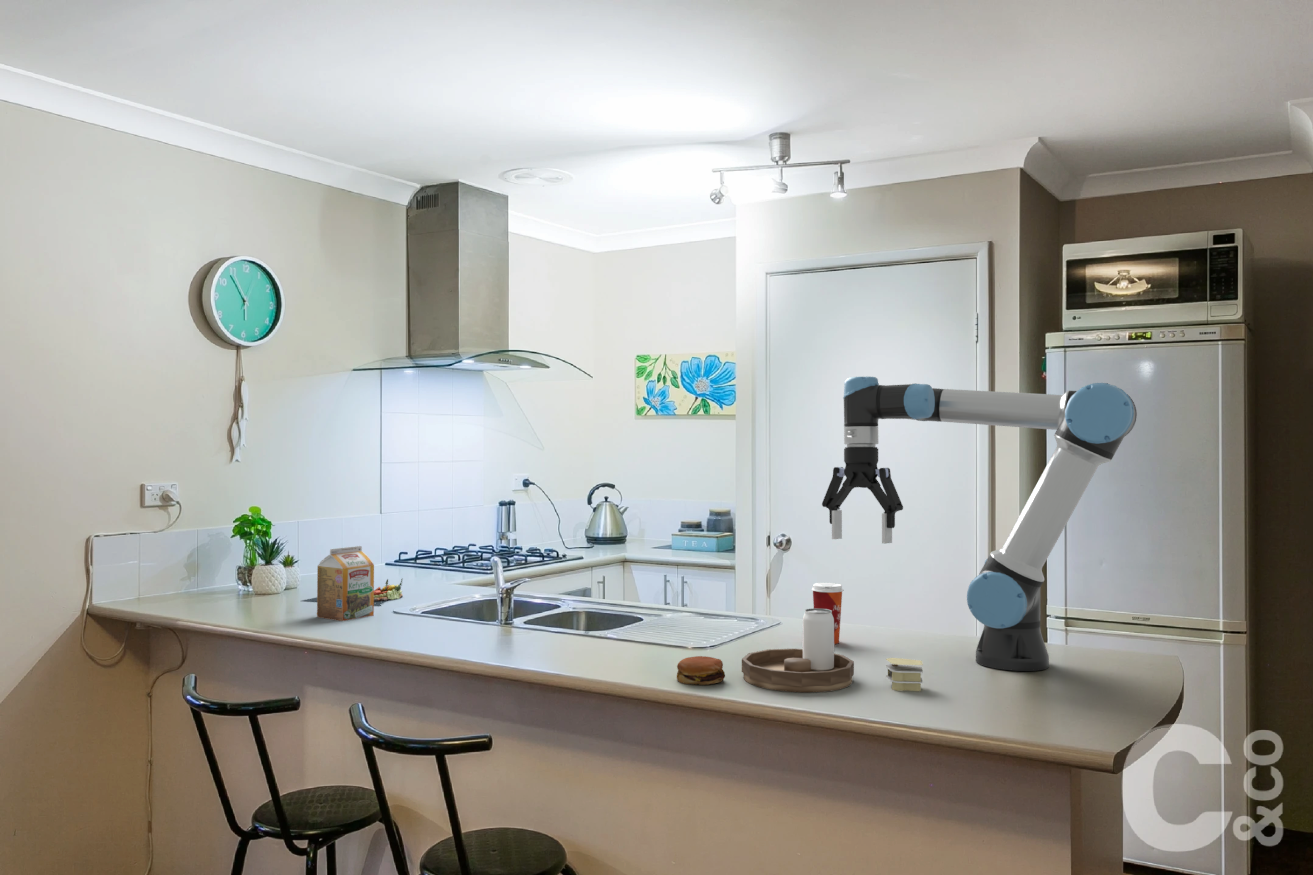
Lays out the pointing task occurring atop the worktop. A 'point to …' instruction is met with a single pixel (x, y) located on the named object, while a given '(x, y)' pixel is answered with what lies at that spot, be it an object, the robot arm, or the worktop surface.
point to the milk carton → (345, 585)
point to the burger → (700, 670)
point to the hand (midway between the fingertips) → (861, 541)
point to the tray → (794, 671)
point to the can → (819, 638)
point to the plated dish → (380, 594)
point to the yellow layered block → (904, 674)
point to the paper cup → (829, 602)
